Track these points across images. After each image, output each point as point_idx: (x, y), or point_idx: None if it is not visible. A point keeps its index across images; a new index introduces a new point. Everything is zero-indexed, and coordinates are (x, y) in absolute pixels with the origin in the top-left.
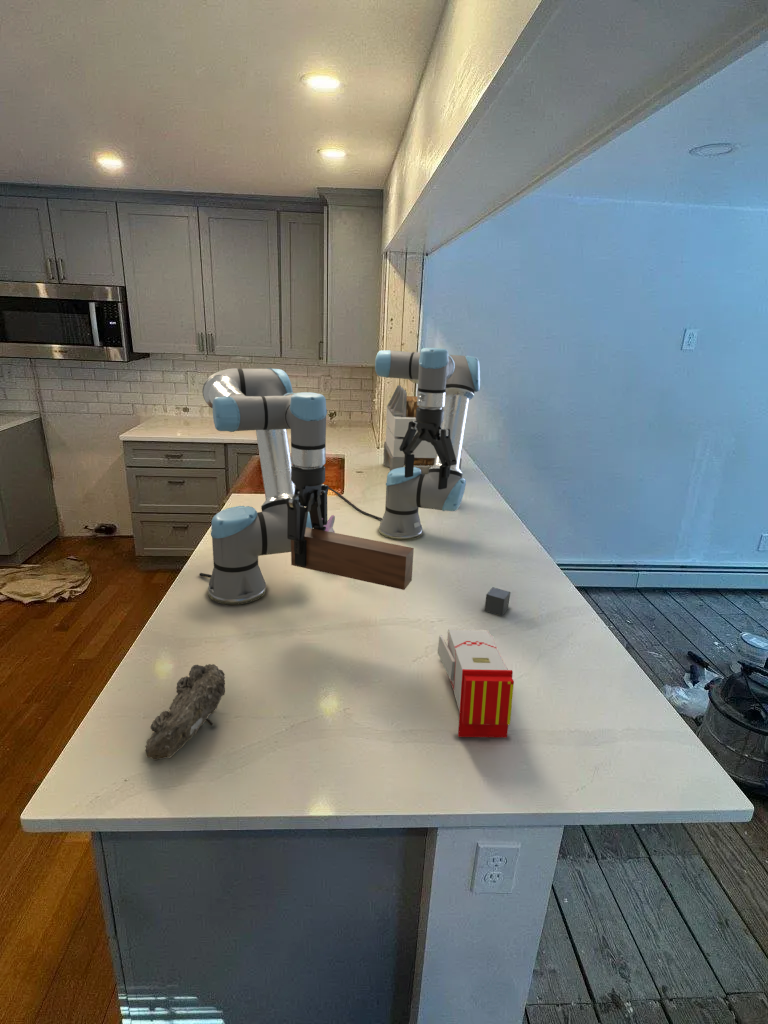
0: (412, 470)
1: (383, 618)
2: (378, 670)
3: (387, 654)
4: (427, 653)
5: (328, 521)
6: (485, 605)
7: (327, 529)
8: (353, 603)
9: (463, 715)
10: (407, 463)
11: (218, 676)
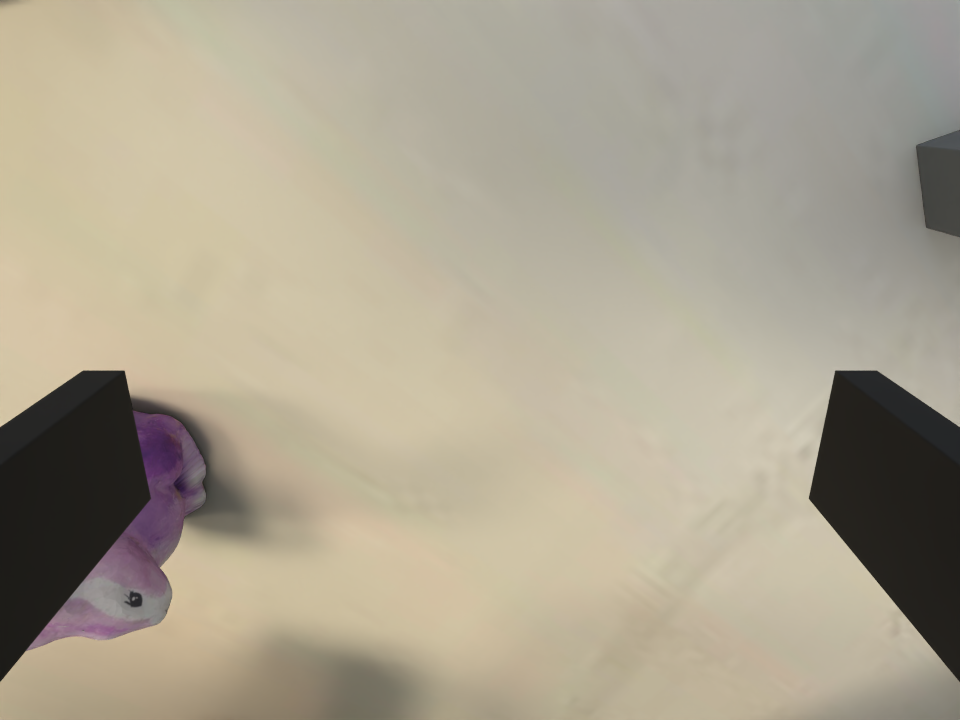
0: (72, 434)
1: (664, 561)
2: (844, 717)
3: (815, 664)
4: None
5: None
6: (945, 231)
7: (105, 626)
8: (516, 577)
9: None
10: (8, 662)
11: None
